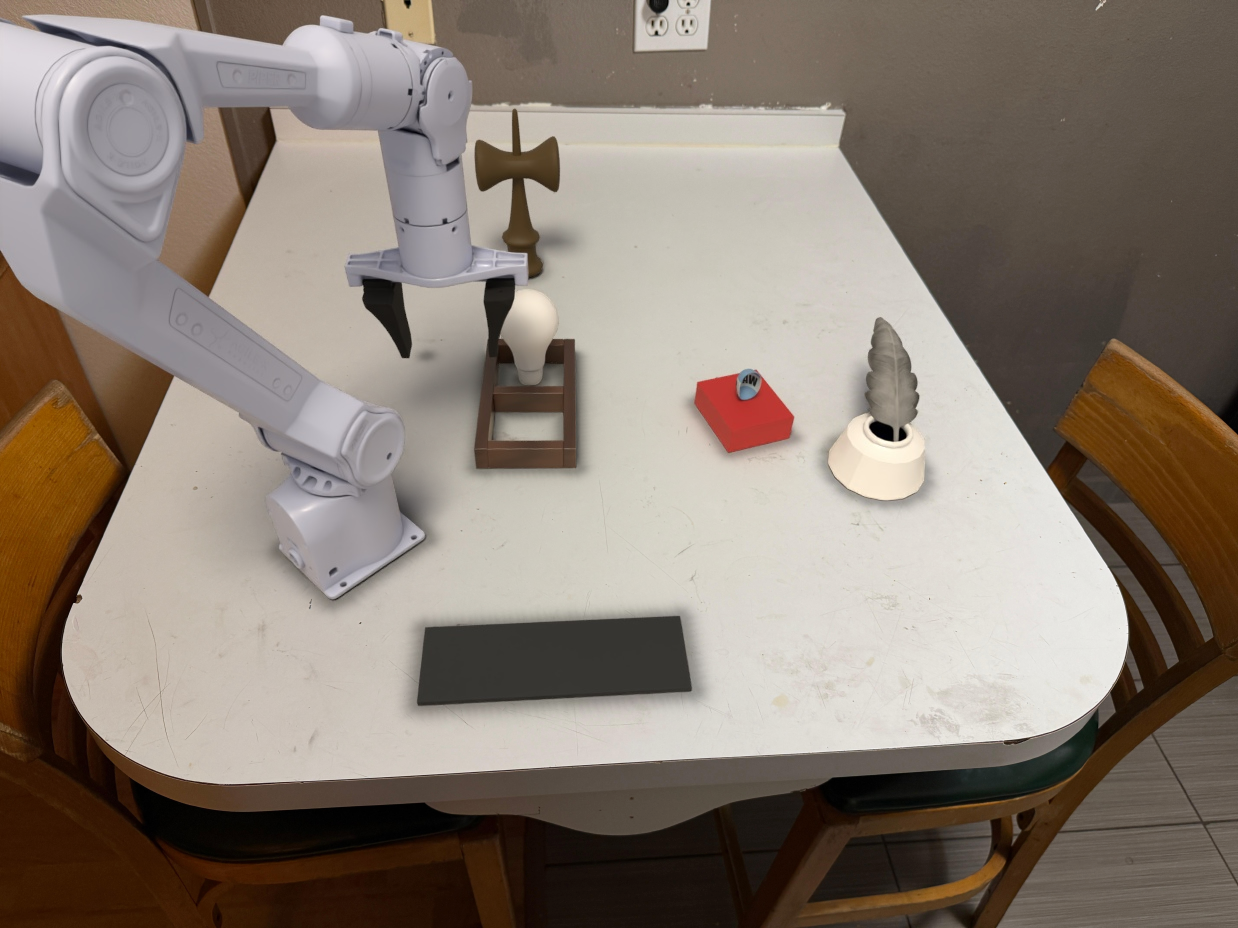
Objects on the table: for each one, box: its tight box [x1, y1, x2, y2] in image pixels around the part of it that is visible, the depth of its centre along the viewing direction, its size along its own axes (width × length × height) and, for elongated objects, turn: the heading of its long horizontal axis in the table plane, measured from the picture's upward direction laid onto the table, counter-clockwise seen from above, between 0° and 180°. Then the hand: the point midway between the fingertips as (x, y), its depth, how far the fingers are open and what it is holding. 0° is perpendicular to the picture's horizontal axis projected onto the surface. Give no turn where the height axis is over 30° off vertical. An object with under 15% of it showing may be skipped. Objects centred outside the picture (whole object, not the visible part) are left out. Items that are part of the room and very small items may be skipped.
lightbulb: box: [500, 288, 560, 386], centre depth 82 cm, size 6×6×11 cm
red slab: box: [693, 368, 795, 453], centre depth 81 cm, size 8×7×6 cm
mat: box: [416, 615, 693, 707], centre depth 62 cm, size 20×6×1 cm, turn 95°
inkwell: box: [827, 316, 926, 501], centre depth 79 cm, size 9×18×10 cm, turn 178°
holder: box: [473, 338, 577, 469], centre depth 82 cm, size 9×18×2 cm, turn 3°
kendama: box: [473, 108, 561, 278], centre depth 96 cm, size 6×10×20 cm, turn 97°
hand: (450, 351), depth 73 cm, fingers open, 7 cm apart
